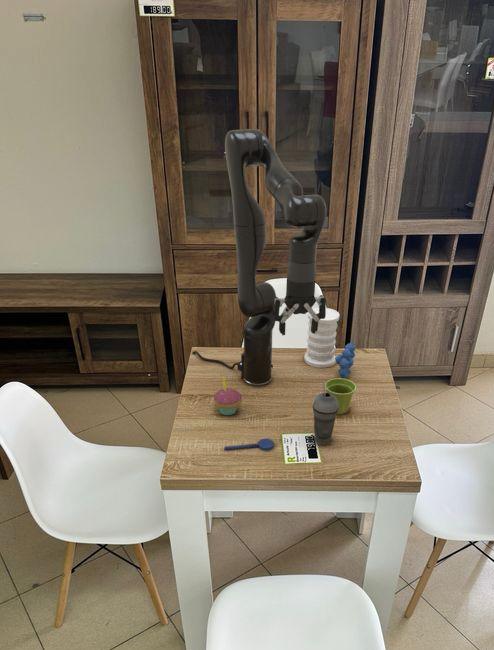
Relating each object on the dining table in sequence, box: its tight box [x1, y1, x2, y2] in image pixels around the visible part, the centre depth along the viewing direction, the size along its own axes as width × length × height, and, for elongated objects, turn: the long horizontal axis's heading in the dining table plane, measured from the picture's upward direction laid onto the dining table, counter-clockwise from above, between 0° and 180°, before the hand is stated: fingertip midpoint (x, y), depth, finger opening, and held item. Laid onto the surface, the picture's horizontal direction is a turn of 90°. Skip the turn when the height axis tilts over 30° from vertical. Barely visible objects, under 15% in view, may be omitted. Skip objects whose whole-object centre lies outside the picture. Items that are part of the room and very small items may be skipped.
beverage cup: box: [312, 378, 339, 446], centre depth 150 cm, size 7×7×20 cm
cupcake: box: [213, 375, 243, 416], centre depth 163 cm, size 9×8×12 cm
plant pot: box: [325, 377, 357, 415], centre depth 167 cm, size 9×9×9 cm
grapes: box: [335, 342, 356, 379], centre depth 185 cm, size 12×7×12 cm, turn 158°
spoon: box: [223, 438, 275, 451], centre depth 152 cm, size 14×4×1 cm, turn 102°
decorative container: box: [303, 307, 340, 369], centre depth 192 cm, size 12×12×18 cm
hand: (298, 333), depth 150 cm, fingers open, 8 cm apart
